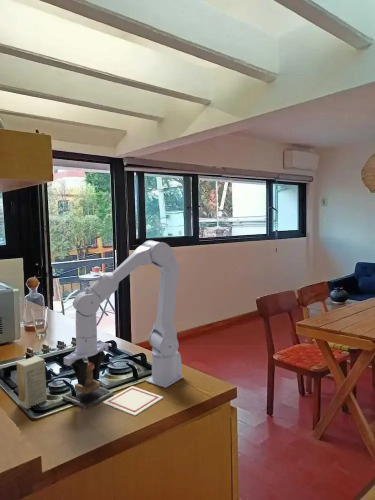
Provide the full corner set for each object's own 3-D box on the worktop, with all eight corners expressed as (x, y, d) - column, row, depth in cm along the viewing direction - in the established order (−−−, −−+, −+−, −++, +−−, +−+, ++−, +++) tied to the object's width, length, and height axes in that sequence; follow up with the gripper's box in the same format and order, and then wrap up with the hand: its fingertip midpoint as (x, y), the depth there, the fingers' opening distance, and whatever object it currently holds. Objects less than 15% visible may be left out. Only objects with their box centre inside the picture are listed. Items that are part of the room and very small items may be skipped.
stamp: (88, 382, 115) (87, 360, 114) (100, 387, 112) (99, 364, 111) (75, 389, 111) (74, 366, 110) (87, 394, 108) (86, 370, 107)
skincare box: (39, 396, 112) (37, 355, 111) (47, 400, 109) (46, 358, 108) (17, 404, 107) (15, 361, 106) (25, 409, 104) (23, 365, 103)
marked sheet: (132, 386, 118) (132, 385, 118) (163, 397, 111) (163, 396, 111) (102, 403, 108) (102, 401, 108) (135, 416, 101) (135, 414, 101)
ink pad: (89, 386, 118) (89, 382, 118) (113, 395, 113) (113, 391, 113) (62, 399, 110) (62, 395, 110) (86, 409, 105) (86, 405, 104)
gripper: (96, 326, 118) (97, 369, 119) (55, 339, 106) (57, 387, 107) (112, 330, 114) (113, 375, 115) (72, 344, 102) (74, 394, 103)
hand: (87, 381), depth 111 cm, fingers closed on stamp, 4 cm apart
